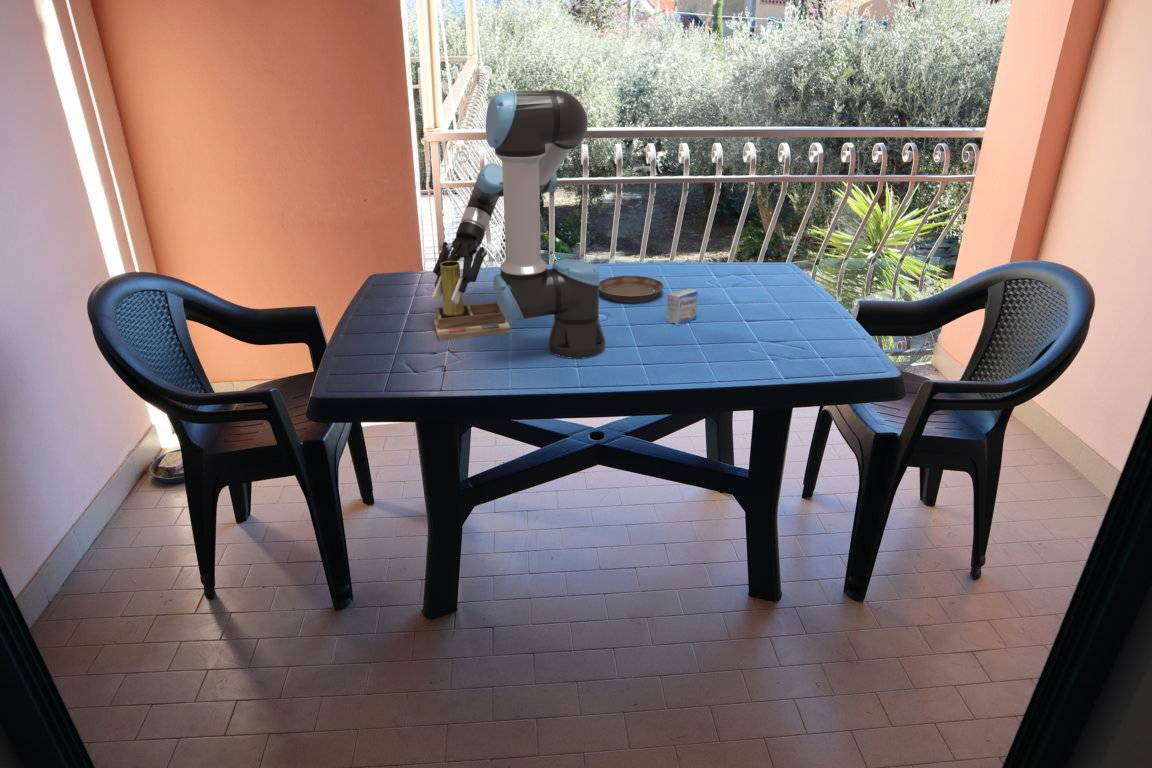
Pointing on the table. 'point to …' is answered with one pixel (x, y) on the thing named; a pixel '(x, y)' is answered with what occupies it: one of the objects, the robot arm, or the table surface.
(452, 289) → the vase
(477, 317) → the tray
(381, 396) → the table surface
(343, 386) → the table surface
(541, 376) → the table surface
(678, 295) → the medicine box
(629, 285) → the plant saucer
